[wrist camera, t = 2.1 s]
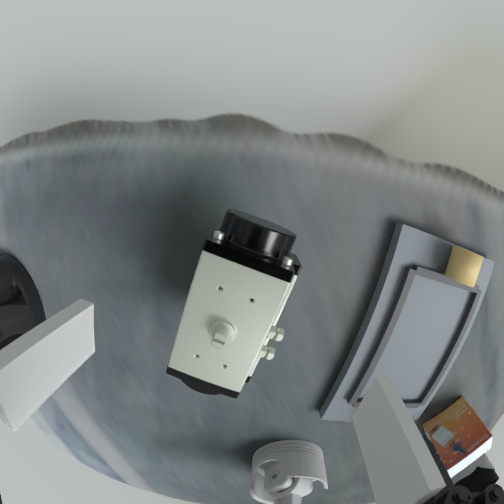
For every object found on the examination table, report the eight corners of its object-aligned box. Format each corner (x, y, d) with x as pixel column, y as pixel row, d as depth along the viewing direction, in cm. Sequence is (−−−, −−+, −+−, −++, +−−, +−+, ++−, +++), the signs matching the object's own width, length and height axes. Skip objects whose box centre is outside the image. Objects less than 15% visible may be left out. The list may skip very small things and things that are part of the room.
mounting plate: (413, 413, 28) (426, 438, 22) (319, 411, 28) (325, 442, 22) (487, 259, 23) (515, 270, 18) (395, 222, 23) (424, 229, 18)
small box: (462, 394, 27) (494, 434, 17) (464, 410, 28) (492, 447, 17) (421, 424, 28) (446, 471, 18) (426, 438, 29) (448, 480, 19)
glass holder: (473, 431, 29) (503, 476, 14) (419, 474, 32) (439, 523, 17) (464, 420, 28) (499, 473, 14) (403, 468, 31) (424, 525, 16)
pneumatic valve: (198, 319, 26) (156, 398, 14) (238, 204, 24) (210, 211, 12) (251, 338, 26) (240, 427, 14) (297, 226, 24) (327, 256, 12)
